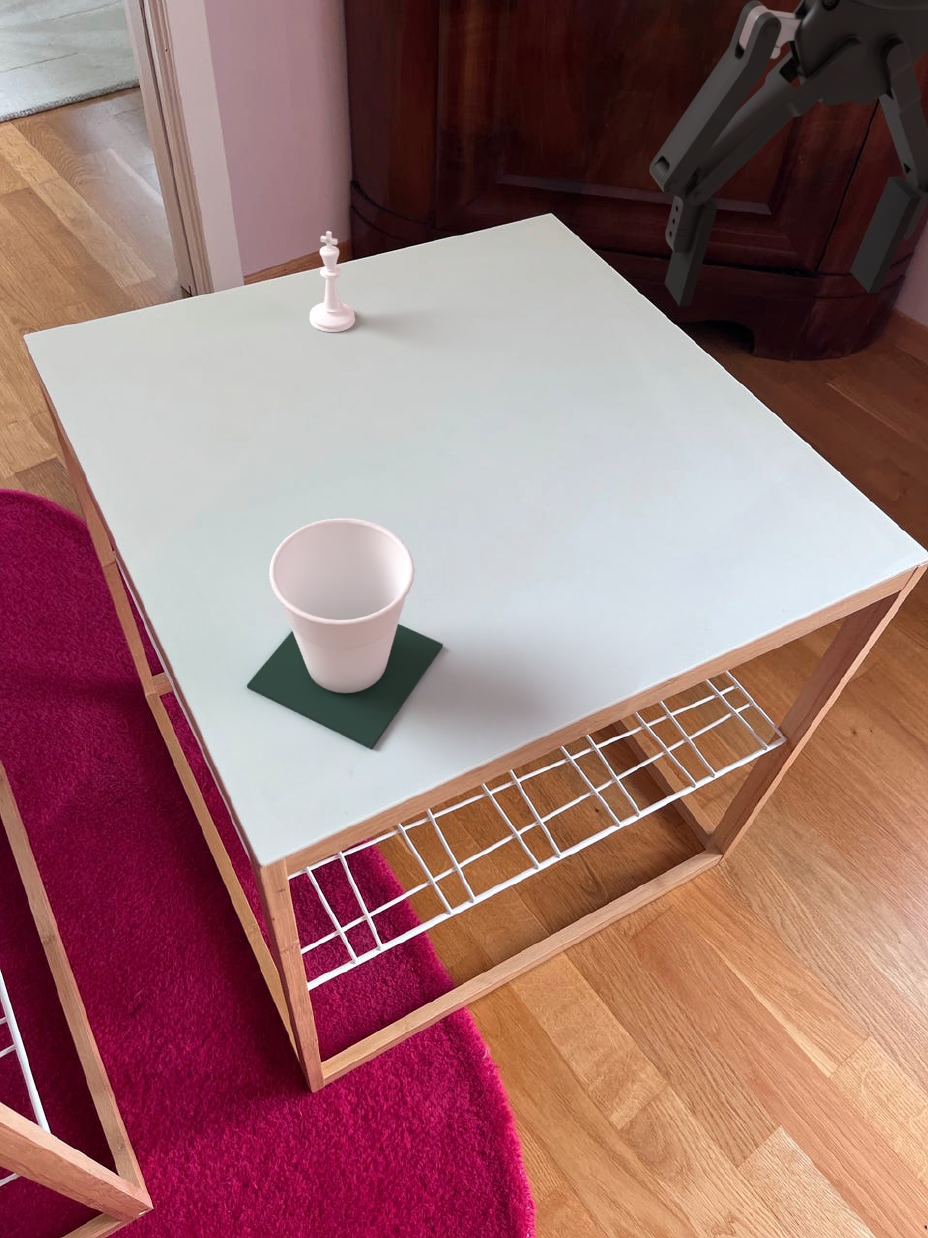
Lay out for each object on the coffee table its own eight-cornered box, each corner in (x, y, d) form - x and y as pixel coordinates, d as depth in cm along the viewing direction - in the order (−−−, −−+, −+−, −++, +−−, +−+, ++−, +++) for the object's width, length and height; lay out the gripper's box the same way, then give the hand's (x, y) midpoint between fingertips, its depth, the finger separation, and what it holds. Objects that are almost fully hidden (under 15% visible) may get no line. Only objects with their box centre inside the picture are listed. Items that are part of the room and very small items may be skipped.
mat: (442, 646, 76) (443, 643, 75) (371, 749, 69) (371, 747, 69) (325, 593, 78) (325, 590, 78) (246, 688, 72) (246, 685, 72)
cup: (437, 664, 74) (444, 569, 66) (342, 740, 69) (337, 648, 61) (350, 595, 78) (346, 497, 69) (255, 662, 73) (238, 565, 64)
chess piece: (320, 302, 105) (315, 215, 97) (361, 312, 104) (360, 225, 97) (302, 326, 102) (296, 238, 94) (345, 336, 101) (342, 249, 94)
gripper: (1079, -121, 51) (910, 248, 67) (646, -131, 46) (577, 268, 63) (1173, -77, 47) (967, 307, 63) (703, -83, 42) (612, 333, 58)
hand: (772, 288), depth 63 cm, fingers open, 13 cm apart
